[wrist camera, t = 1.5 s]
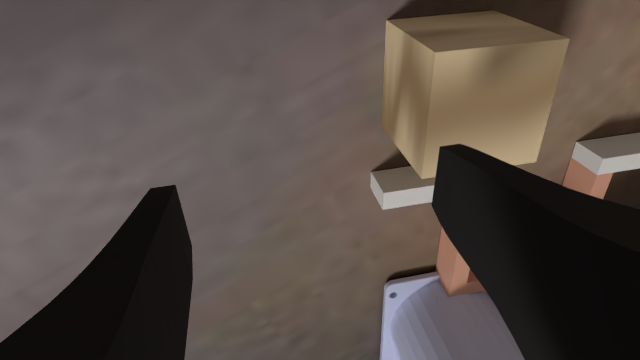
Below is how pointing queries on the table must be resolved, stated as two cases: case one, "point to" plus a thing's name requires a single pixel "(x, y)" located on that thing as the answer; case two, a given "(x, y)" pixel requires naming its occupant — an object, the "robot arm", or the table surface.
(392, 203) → the cross-shaped barrier wall
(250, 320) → the table surface
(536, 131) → the oak block
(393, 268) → the table surface
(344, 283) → the table surface
